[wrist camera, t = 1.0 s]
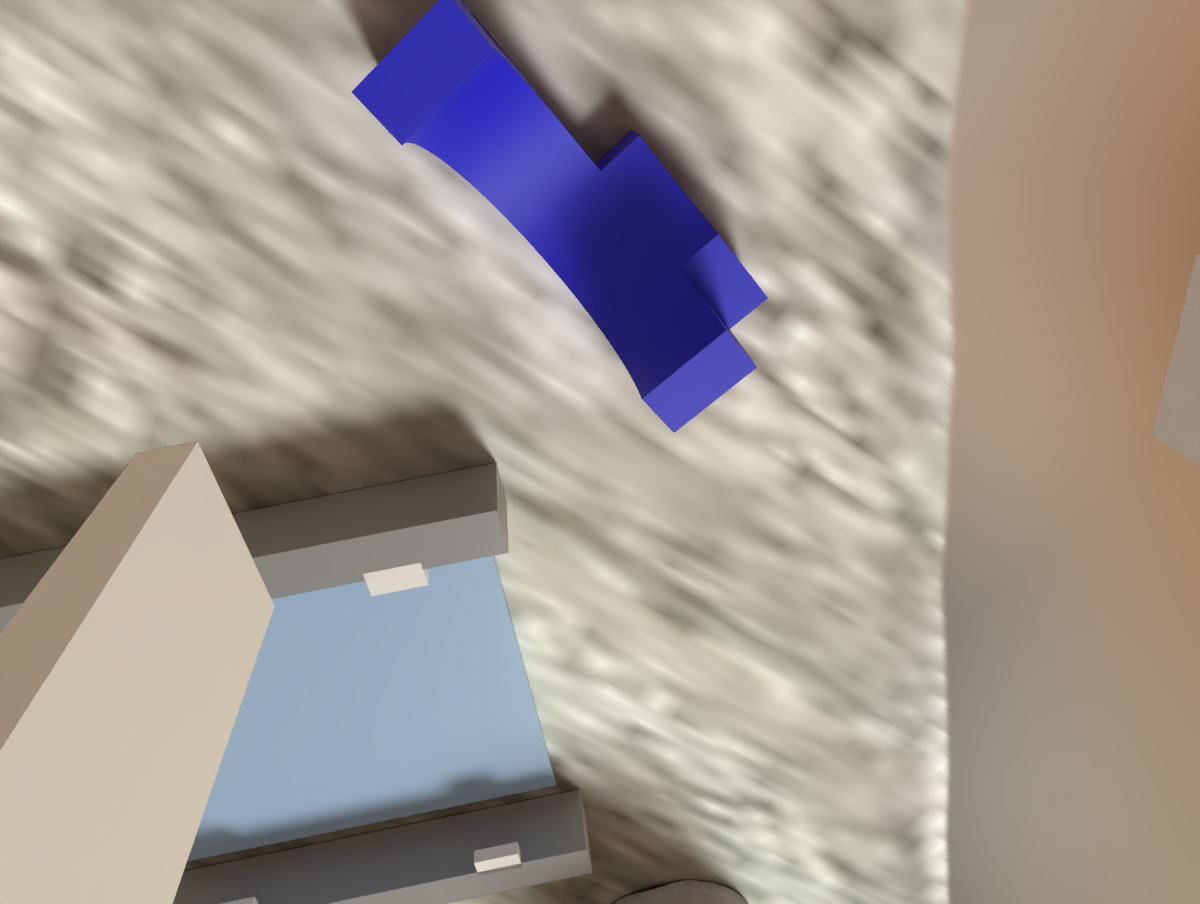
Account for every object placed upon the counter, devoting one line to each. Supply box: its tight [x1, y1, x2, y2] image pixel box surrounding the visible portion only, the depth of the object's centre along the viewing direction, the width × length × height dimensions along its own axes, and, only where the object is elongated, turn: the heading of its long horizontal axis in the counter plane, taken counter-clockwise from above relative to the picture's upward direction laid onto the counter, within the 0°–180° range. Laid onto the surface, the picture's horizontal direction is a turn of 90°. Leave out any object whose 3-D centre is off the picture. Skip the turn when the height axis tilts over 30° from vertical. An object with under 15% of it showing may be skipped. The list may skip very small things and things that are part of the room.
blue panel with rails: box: [0, 463, 593, 904], centre depth 33 cm, size 21×20×3 cm
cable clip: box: [352, 0, 768, 432], centre depth 23 cm, size 12×4×6 cm, turn 40°
